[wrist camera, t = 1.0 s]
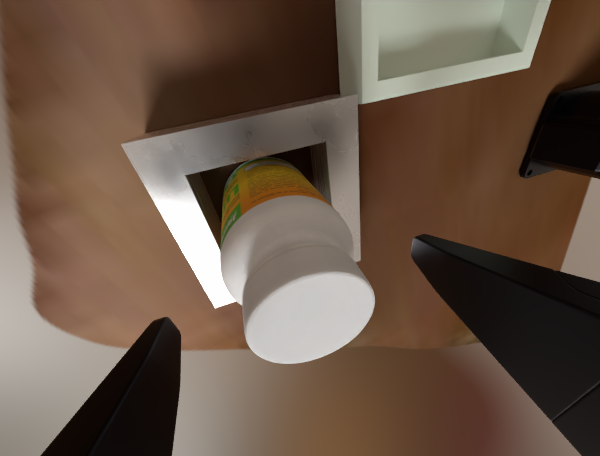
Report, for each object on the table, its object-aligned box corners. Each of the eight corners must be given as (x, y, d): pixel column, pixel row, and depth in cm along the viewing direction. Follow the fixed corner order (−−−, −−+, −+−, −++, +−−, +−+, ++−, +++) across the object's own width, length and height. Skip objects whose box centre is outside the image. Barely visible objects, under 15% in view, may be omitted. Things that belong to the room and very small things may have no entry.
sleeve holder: (331, 94, 13) (357, 94, 10) (342, 237, 18) (360, 260, 15) (144, 133, 11) (120, 143, 9) (217, 275, 17) (215, 307, 14)
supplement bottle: (218, 153, 12) (202, 259, 4) (310, 155, 14) (422, 238, 6) (226, 235, 15) (224, 395, 7) (302, 230, 17) (373, 358, 9)
